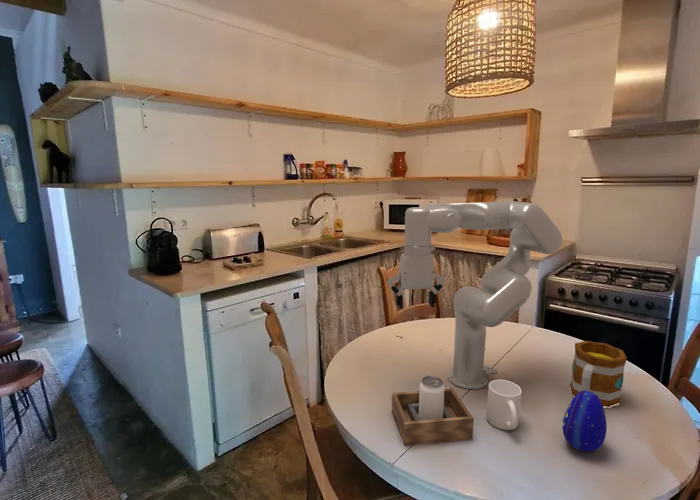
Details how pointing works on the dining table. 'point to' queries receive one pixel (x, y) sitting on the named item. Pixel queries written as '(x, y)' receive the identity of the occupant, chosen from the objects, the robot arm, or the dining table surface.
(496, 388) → the mug
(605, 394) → the mug
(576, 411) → the ornament
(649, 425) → the dining table surface
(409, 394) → the bin
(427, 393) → the can
